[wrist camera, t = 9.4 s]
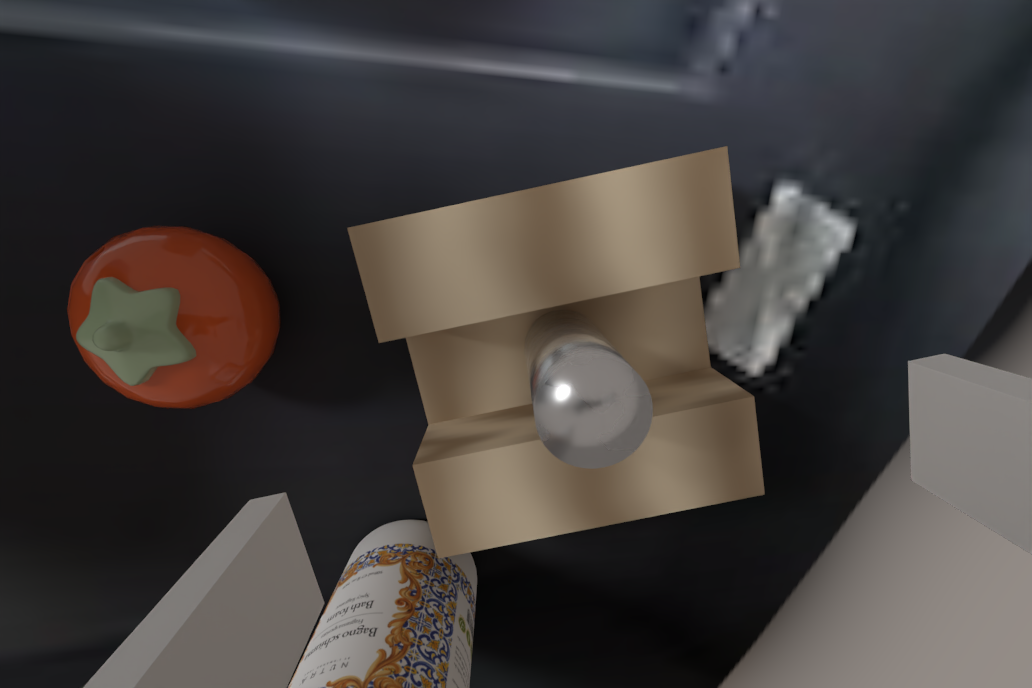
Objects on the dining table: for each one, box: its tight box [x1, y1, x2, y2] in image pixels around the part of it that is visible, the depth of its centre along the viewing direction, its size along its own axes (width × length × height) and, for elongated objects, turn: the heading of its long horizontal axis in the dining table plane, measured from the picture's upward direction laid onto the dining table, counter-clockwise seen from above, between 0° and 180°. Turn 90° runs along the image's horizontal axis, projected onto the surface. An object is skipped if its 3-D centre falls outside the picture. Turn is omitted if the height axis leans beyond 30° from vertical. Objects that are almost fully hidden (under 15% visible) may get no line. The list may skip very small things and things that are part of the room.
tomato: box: [67, 226, 281, 409], centre depth 20 cm, size 7×7×8 cm
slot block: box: [347, 146, 765, 559], centre depth 22 cm, size 14×14×5 cm
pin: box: [525, 310, 653, 469], centre depth 20 cm, size 4×4×9 cm
